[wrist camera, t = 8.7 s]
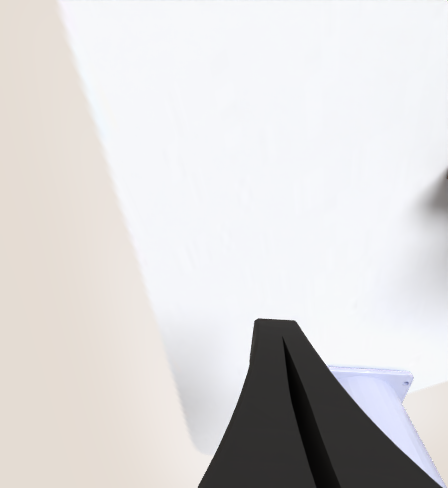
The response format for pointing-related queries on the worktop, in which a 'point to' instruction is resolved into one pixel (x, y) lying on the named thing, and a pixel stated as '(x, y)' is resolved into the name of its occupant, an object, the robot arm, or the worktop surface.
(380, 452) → the robot arm
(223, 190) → the worktop surface
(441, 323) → the worktop surface
